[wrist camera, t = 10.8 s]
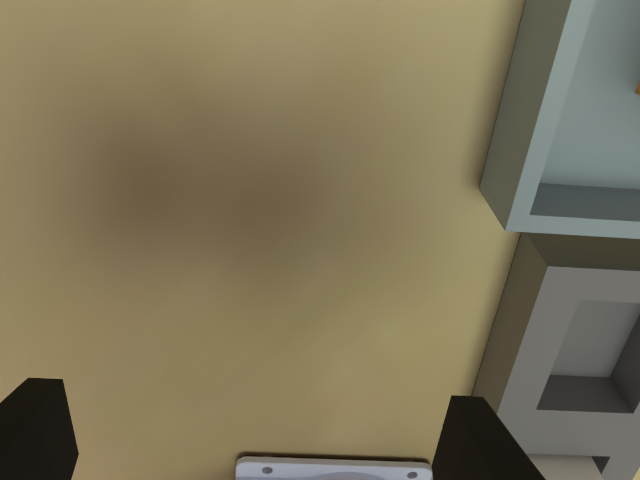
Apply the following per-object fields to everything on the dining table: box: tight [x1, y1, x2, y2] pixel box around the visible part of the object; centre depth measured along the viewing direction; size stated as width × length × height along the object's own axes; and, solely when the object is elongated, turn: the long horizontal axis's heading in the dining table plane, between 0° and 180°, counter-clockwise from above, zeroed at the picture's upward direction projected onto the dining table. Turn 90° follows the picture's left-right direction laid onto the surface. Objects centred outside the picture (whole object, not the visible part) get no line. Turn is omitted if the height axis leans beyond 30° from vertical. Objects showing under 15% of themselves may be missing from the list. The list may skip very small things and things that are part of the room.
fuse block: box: [472, 232, 640, 480], centre depth 24 cm, size 7×16×2 cm, turn 175°
